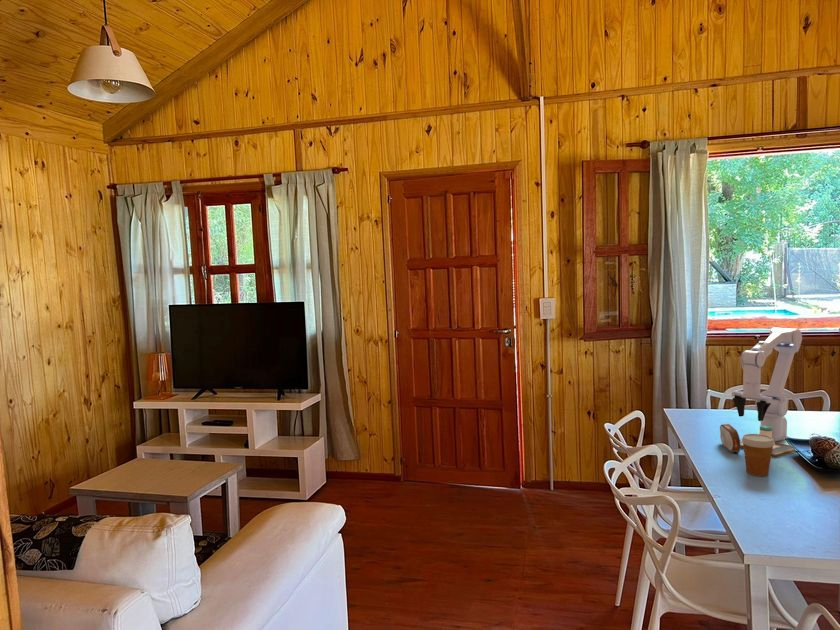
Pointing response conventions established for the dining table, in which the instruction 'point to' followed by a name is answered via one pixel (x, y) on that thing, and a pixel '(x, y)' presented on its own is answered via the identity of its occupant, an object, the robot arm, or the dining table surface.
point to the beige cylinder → (766, 430)
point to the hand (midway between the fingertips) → (750, 418)
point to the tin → (730, 438)
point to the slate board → (778, 449)
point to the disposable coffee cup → (757, 453)
